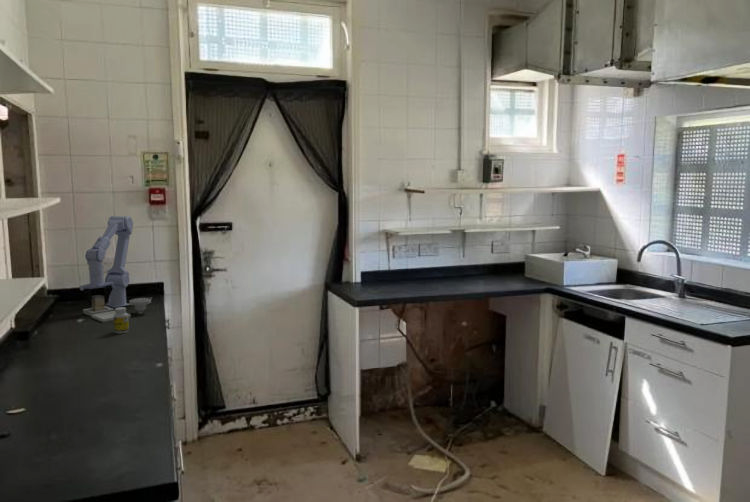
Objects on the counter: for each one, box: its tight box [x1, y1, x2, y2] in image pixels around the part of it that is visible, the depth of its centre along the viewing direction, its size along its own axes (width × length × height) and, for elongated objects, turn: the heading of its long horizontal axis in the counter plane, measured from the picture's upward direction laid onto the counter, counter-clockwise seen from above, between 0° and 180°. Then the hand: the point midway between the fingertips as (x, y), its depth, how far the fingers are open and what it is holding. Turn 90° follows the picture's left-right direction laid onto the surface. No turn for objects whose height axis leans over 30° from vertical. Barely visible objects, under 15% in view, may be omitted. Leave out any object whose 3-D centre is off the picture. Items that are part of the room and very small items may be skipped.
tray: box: [91, 310, 131, 324], centre depth 253 cm, size 12×12×2 cm
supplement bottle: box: [113, 306, 130, 334], centre depth 230 cm, size 5×5×10 cm
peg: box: [91, 294, 106, 312], centre depth 262 cm, size 4×4×8 cm
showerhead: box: [128, 297, 153, 315], centre depth 261 cm, size 9×7×10 cm
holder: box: [82, 305, 115, 318], centre depth 262 cm, size 10×10×2 cm
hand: (98, 303), depth 262 cm, fingers open, 7 cm apart
